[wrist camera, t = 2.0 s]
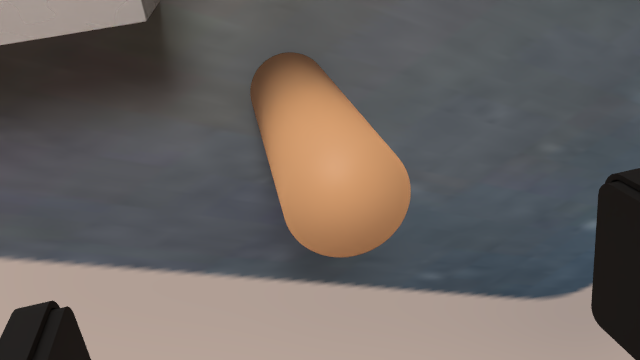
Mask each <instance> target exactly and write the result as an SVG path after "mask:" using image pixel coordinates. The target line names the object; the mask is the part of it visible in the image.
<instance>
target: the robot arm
mask: <svg viewBox="0 0 640 360" xmlns="http://www.w3.org/2000/svg"><path fill="white" fill-rule="evenodd" d="M591 306H592V313H593V316H594V318H595V320H596V322H597V323H598V324H599V326H600V327H601V328H602V329H603V330H604V331H606V332H607V333H608V334H609V335H610V336H611V337H612V338H613V339H614V340H615V341H616V342H617V343H618V344H619V345H621V346H622V347H623V348H624V349H625V350H626V351H627V352H628V353H629V354H630V355H631V356H632V357H633V358H634V359H636V360H640V168H638V169H634V170H629V171H625V172H620V173H616V174H612V175H610V176H609V177H608V178H607V180H606V182H605V184H604V185H602V186H601V188H600V189H599V194H598V209H597V225H596V241H595V257H594V273H593V288H592V304H591ZM0 360H91V359H90V356H89V353H88V351H87V348H86V345H85V342H84V340H83V337H82V334H81V332H80V329H79V327H78V324H77V321H76V319H75V316H74V313H73V311H72V310H71V309H70V308H69V307H64V308H60V307H59V305H58V304H57V303H56V302H54V301H49V302H45V303H40V304H36V305H32V306H27V307H23V308H18V309H15V310H14V312H13V313H12V315H11V317H10V319H9V321H8V323H7V325H6V327H5V329H4V332H3V334H2V336H1V338H0Z"/></svg>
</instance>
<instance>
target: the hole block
mask: <svg viewBox="0 0 640 360" xmlns="http://www.w3.org/2000/svg"><path fill="white" fill-rule="evenodd" d="M158 3H159V0H0V45H4V44H10V43H16V42H23V41H29V40H35V39H41V38H47V37H53V36H59V35H66V34H72V33H78V32H84V31H90V30H96V29H102V28H108V27H115V26H121V25H127V24H133V23H139V22H145V21H147V20H148V18H149V17H150V15H151V13H152V12H153V10H154V9H155V7H156V6H157V4H158Z"/></svg>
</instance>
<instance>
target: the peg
mask: <svg viewBox="0 0 640 360" xmlns="http://www.w3.org/2000/svg"><path fill="white" fill-rule="evenodd" d="M251 100H252V104H253V108H254V111H255V115H256V118H257V122H258V125H259V129H260V132H261V136H262V140H263V143H264V147H265V150H266V154H267V157H268V161H269V165H270V168H271V172H272V175H273V179H274V182H275V186H276V190H277V193H278V197H279V200H280V204H281V207H282V211H283V215H284V218H285V221H286V224H287V226H288V228H289V230H290V231H291V233H292V235H293V236H294V237H295V238H296V239H297V240H298V241H299V242H300V243H301V244H302V245H303V246H305V247H306V248H308V249H309V250H311V251H313V252H315V253H318V254H321V255H325V256H330V257H350V256H356V255H359V254H363V253H365V252H368V251H370V250H372V249H374V248H376V247H378V246H379V245H381V244H382V243H384V242H385V241H386V240H387V239H388V238H390V237H391V236H392V234H393V233H394V232H395V231H396V230H397V229H398V227H399V226H400V224H401V223H402V221H403V219H404V217H405V215H406V213H407V210H408V206H409V203H410V195H411V194H410V181H409V177H408V174H407V171H406V169H405V167H404V165H403V164H402V162H401V161H400V159H399V158H398V157H397V156H396V154H395V153H394V152H393V151H392V150H391V149H390V147H389V146H388V145H387V144H386V143H385V142H384V141H383V139H382V138H381V137H380V136H379V135H378V134H377V132H376V131H375V130H374V129H373V128H372V127H371V125H370V124H369V123H368V122H367V121H366V120H365V118H364V117H363V116H362V115H361V114H360V113H359V111H358V110H357V109H356V108H355V107H354V106H353V105H352V103H351V102H350V101H349V100H348V99H347V98H346V96H345V95H344V94H343V93H342V92H341V91H340V89H339V88H338V87H337V86H336V85H335V84H334V82H333V81H332V80H331V79H330V78H329V77H328V75H327V74H326V73H325V72H324V71H323V70H322V69H321V67H320V66H319V65H318V64H317V63H316V62H315V61H314V60H312V59H311V58H309V57H307V56H305V55H302V54H299V53H282V54H278V55H275V56H273V57H271V58H269V59H268V60H266V61H265V62H264V63H263V64H262V65H261V66H260V67H259V68H258V70H257V71H256V73H255V75H254V77H253V80H252V83H251Z"/></svg>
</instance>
